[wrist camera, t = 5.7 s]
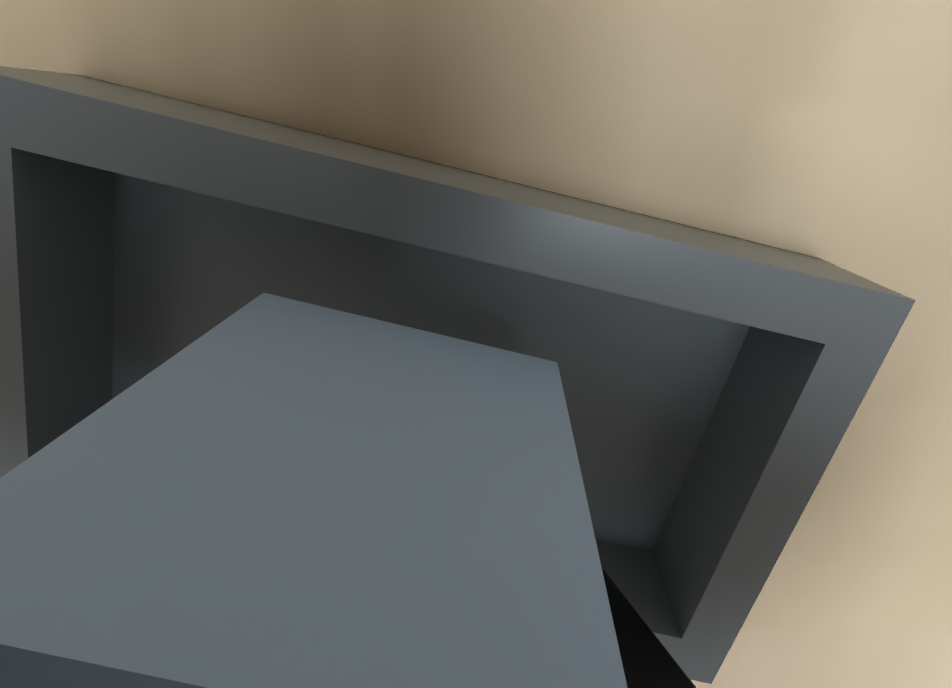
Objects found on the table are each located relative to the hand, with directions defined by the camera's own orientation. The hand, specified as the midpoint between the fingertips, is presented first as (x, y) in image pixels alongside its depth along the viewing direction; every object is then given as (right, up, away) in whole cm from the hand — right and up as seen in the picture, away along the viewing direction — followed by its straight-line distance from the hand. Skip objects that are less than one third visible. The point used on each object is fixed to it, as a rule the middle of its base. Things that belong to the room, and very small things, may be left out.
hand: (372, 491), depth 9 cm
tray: (0, +2, +4) cm, 5 cm away
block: (0, 0, +1) cm, 1 cm away
